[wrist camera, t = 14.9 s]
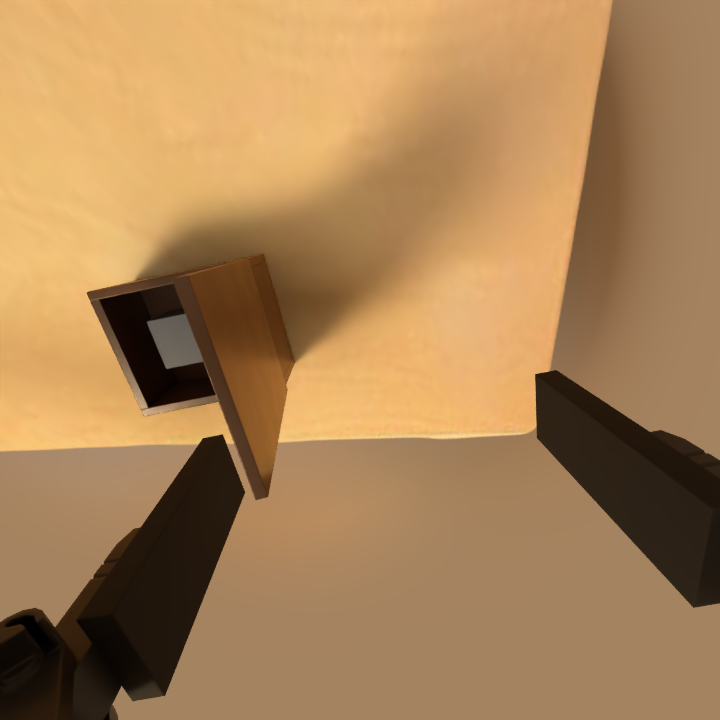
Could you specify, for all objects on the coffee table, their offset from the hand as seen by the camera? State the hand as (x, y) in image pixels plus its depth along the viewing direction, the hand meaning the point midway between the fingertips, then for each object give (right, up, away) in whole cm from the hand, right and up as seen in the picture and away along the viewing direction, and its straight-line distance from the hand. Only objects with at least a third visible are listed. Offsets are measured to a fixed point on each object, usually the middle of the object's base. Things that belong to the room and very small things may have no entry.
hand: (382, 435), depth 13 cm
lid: (-10, +3, +14) cm, 17 cm away
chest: (-18, +7, +30) cm, 36 cm away
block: (-20, +7, +29) cm, 36 cm away
